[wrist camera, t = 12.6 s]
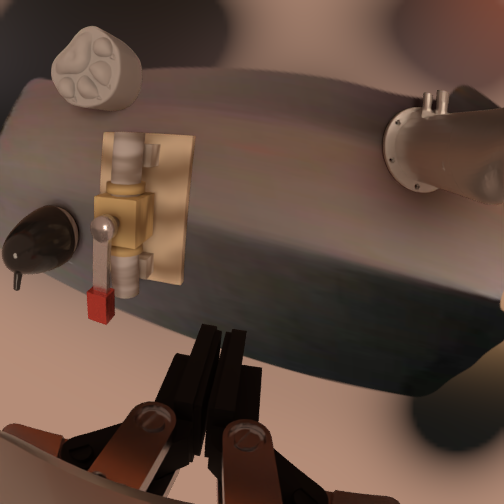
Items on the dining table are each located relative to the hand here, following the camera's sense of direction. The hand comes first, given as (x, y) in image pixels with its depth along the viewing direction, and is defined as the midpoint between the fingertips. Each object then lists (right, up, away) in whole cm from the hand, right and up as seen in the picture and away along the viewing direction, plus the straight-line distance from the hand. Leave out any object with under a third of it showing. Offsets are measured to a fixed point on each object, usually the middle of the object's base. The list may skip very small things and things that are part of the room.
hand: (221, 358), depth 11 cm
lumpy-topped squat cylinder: (-20, +31, +26) cm, 45 cm away
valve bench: (-15, +11, +32) cm, 37 cm away
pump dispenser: (-31, +8, +35) cm, 48 cm away
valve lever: (-17, +2, +24) cm, 29 cm away
